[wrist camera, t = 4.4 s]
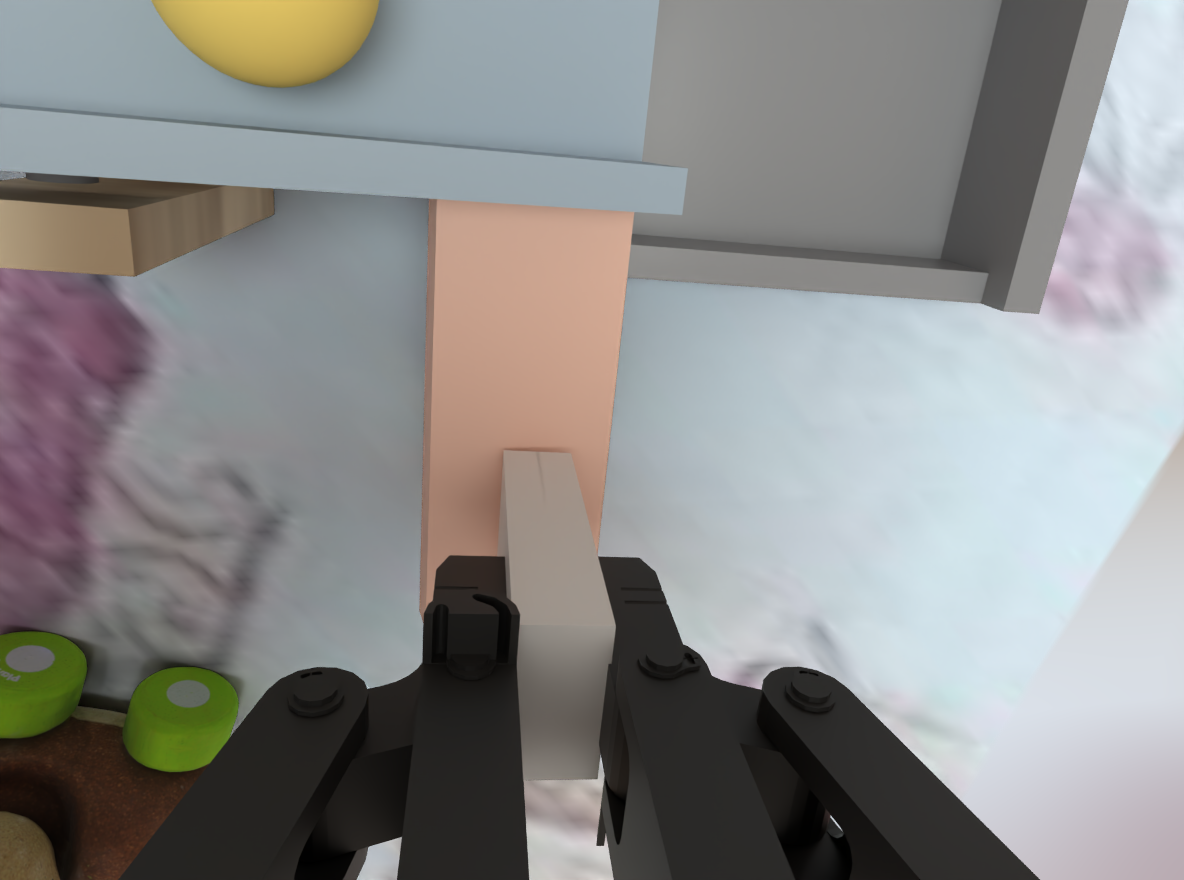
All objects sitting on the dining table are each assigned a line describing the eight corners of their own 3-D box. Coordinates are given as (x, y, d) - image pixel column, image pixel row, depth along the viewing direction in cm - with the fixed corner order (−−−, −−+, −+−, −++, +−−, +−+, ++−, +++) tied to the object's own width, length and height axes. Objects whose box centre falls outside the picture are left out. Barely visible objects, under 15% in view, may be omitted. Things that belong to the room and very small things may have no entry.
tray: (522, 252, 23) (531, 277, 19) (549, -182, 19) (567, -255, 15) (954, 285, 25) (1038, 313, 21) (1048, -101, 21) (1171, -149, 17)
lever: (-488, 658, 15) (-819, 906, 10) (-990, -502, 9) (-2188, -1083, 5) (556, 555, 22) (634, 673, 18) (616, -131, 17) (753, -221, 12)
